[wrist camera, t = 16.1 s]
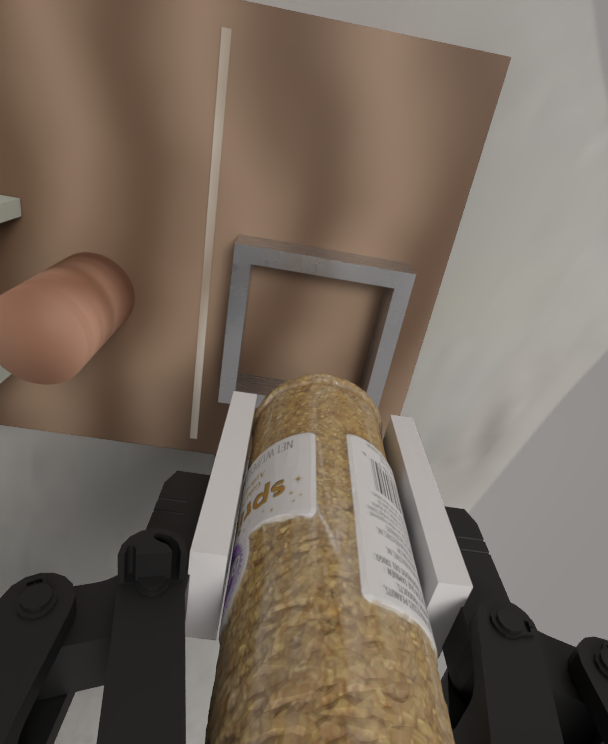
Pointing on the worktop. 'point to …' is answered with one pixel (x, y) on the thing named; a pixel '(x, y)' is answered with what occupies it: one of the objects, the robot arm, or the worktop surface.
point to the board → (215, 201)
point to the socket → (319, 263)
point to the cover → (3, 210)
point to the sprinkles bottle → (323, 586)
